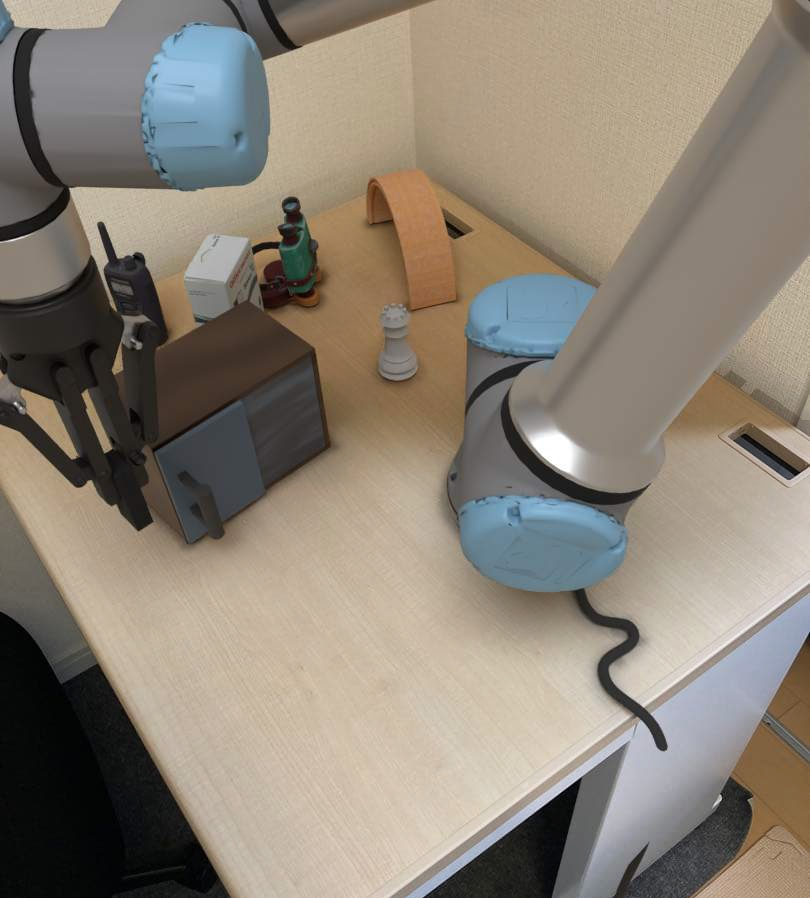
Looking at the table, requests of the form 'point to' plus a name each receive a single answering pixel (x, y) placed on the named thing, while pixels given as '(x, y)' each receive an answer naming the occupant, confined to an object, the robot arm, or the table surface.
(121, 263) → the two-way radio
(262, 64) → the robot arm
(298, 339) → the cabinet
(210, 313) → the ink box
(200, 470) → the sliding door
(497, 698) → the table surface
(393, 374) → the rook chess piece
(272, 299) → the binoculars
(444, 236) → the orange arch bridge
